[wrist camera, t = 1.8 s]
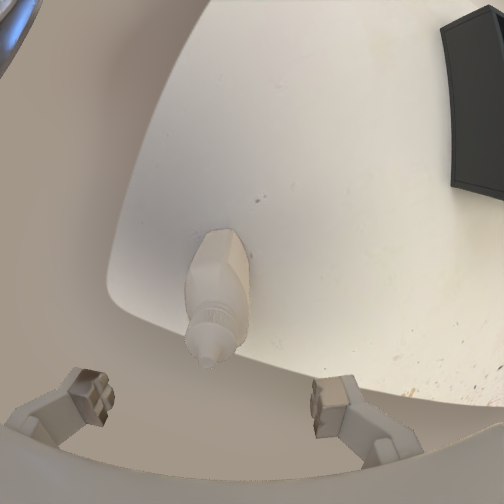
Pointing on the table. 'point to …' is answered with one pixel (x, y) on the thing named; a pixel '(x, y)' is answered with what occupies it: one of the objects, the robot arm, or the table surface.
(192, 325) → the eye dropper bottle
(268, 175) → the table surface
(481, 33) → the bin
